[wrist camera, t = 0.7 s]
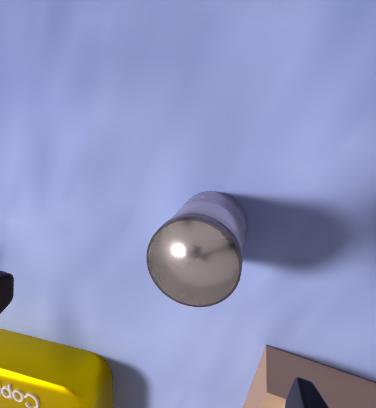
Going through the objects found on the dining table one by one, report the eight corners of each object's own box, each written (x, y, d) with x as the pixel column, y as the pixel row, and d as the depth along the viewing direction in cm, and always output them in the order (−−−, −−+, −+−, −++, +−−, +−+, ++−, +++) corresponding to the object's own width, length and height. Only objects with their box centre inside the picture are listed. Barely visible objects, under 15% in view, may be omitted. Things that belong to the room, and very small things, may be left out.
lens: (256, 200, 19) (253, 234, 13) (237, 264, 21) (227, 319, 15) (185, 181, 20) (154, 206, 14) (172, 245, 21) (140, 289, 16)
